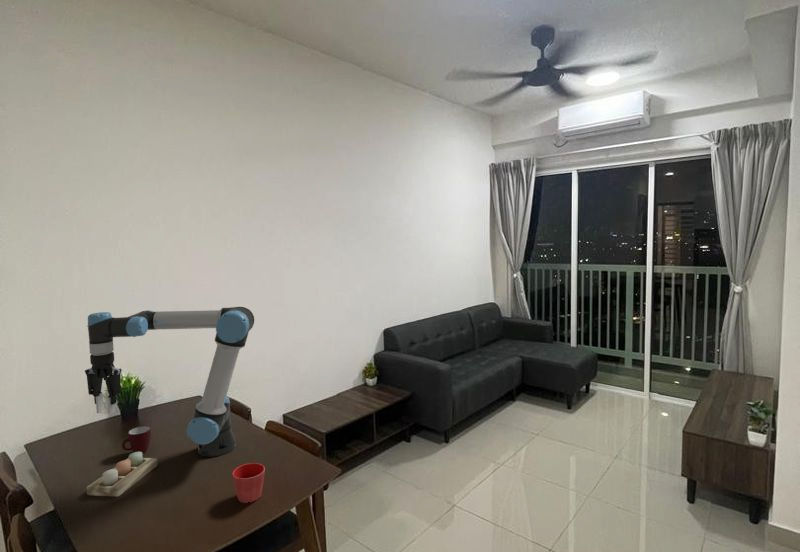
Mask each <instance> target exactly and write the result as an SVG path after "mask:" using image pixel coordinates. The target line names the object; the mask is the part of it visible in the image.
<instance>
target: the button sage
mask: <svg viewBox="0 0 800 552" xmlns="http://www.w3.org/2000/svg"><path fill="white" fill-rule="evenodd" d="M128 458H129V460H130V462H131V466H135V467H136V465H139V464H141V463H142V462H143V458H144V456H143V454H142V452H132V453H129V455H128Z"/></svg>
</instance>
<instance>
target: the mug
mask: <svg viewBox="0 0 800 552" xmlns="http://www.w3.org/2000/svg"><path fill="white" fill-rule="evenodd" d="M151 434H152V433H151V427H150V426H145V425H144V426H138V427H134V428H132V429H130V430H129V431H128V435H127V436H128V437H127V438H126V439H124V440H123V442H122V443H121V448H122V449H123V450H124V451H132V453H134V452H142V455H144V454H146V453H147V452H148V449H149V447H150V444H151V443H150V441H151ZM127 442H129V445H130V448H129V447H128V448H127V447H126V446H125V445H126V443H127Z"/></svg>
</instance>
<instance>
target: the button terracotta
mask: <svg viewBox="0 0 800 552" xmlns="http://www.w3.org/2000/svg"><path fill="white" fill-rule="evenodd" d="M115 467H116V469H117V470H118V475H123V476H125V475H124V474H127V473H129V472H130V471H131V462H130V460H126V459H123V460H120V461H119V462H117V463H116V464H115Z"/></svg>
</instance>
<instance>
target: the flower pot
mask: <svg viewBox="0 0 800 552" xmlns="http://www.w3.org/2000/svg"><path fill="white" fill-rule="evenodd" d="M265 472H266V467H265V465H263V464H262V463H258V462H250V463H245V464H242V465H239V466H238V467H236V468H235V469H233V471H232V473H231V474H232V475H231V476H232V480H233V484H234V489H235V492H236V497H237V500H238V501H239V502H240V503H243V504H249V503H248V502H250V503H253V501H254V502H256V501H257V500H259V499H260V498H261V497H262V492H263V486H264V482H265V481H264V480H265ZM259 497H260V498H259ZM258 498H259V499H258ZM255 500H256V501H255Z"/></svg>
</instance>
